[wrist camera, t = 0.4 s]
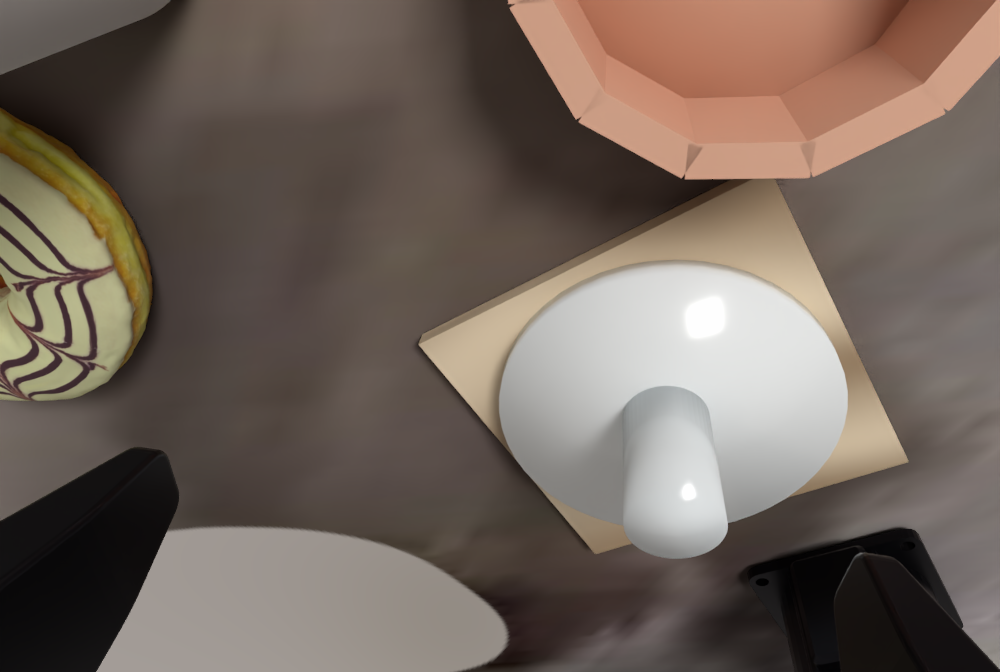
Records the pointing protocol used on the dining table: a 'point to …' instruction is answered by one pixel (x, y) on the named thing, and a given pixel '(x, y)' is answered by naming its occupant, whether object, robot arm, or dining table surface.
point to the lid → (673, 400)
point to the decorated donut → (63, 271)
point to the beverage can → (61, 25)
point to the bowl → (759, 75)
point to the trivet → (683, 236)
